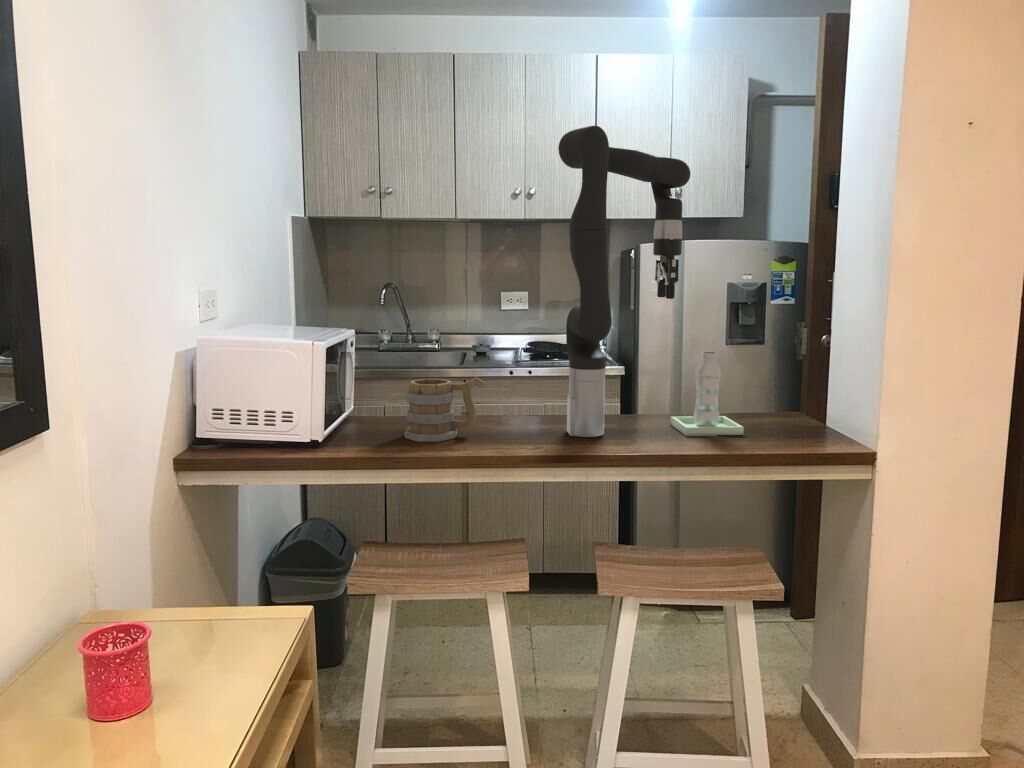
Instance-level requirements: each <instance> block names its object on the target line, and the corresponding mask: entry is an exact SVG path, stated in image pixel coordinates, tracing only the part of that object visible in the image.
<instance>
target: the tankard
mask: <svg viewBox="0 0 1024 768" xmlns="http://www.w3.org/2000/svg"><path fill="white" fill-rule="evenodd" d="M485 384H486V382H485V381H484V380H482V379H481V378H479V377H477V376H476V377H473V378H472V379H470V380H468V381H465V382H462V383H453V382H452V380H449V379H443V378H420V379H413V380H411V381H410V382H409V383H408V391H407V393H406V402H407V403H408V404H409V405H408V406H409V409H408V411H407V412H406V422H408V423H409V426H408V427H407V428H406V429H405V431H404V438H405V439H407V440H411V441H414V442H417V443H439V442H445V441H450V440H454V439H456V436H457V435H458V430H463V429H469V428H470V429H471V428H472V426H473V424H474V422H475V420H476V419H477V408H476V405H475V402H474V401H473V396H472V388H473V387H476V386H477V387H479V388H481V389H483V388H484V387H485ZM455 391H462V396H463V397H462V398H463V402H464V405H465V408H466V409H467V417H466V419H464V420H459V419H458V420H457V419H454V418H455V416H456V415H455V409H454V408H452V406H453V405H452V403H453V401H454V400H455V393H454V392H455Z"/></svg>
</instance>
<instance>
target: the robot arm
mask: <svg viewBox="0 0 1024 768" xmlns="http://www.w3.org/2000/svg"><path fill="white" fill-rule="evenodd" d="M558 155H559V158H560V161H561V162H563V164H564V165H566V166H567V167H569V168H571V169H574V170H575V169H578V170H580V169H581V187H580V192H579V195H578V199H577V202H576V203H575V206H574V208H573V211H572V214H571V216H570V219H569V220H570V221H569V226H568V227H569V228H568V230H569V232H568V233H569V251H570V256H571V257H570V258H571V260H572V263H573V264H572V265H573V266H574V269H575V273H576V275H577V279H578V283H579V295H580V296H579V297H580V298H579V299H580V300H579V301H580V302H579V304H576V305H574V306H573V307H572V308H571V310H569V313H568V315H567V317H566V325H565V326H566V328H565V334H566V335H565V338H566V343H565V344H566V354H567V358H568V362H569V363H568V370H569V371H568V395H567V397H566V403H567V404H566V432H567V433H568V436H570V437H580V438H597V437H600V436H603V435H605V414H606V413H605V410H606V408H605V404H606V371H607V369H606V368H607V366H606V365H607V360H606V356H605V355H604V353H603V351H602V348H601V342H602V341H603V340H605V339H606V338H607V336H609V334H610V331H611V328H612V323H613V322H612V311H611V301H610V295H609V294H610V293H609V284H608V283H609V281H608V267H609V265H608V223H607V222H608V221H607V199H608V198H607V193H608V192H607V190H608V189H607V187H608V176H609V175H608V173H611V174H616V175H620V176H623V177H627V178H630V179H634V180H637V181H640V182H643V183H650V184H651V189H652V190H651V191H652V193H653V199H654V203H655V221H654V227H653V248H652V250H653V252H652V253H653V256H659V257H660V258H659V259H655V275H654V281H655V282H656V284H657V293H656V294H657V295H656V296H657V298H665V299H666V300H668V299H669V300H674V299H675V293H676V292H675V290H676V285H677V283H678V282H679V266H680V265H679V264H680V263H679V262H680V260H679V259H675V258H676V257H677V256H681V255H682V252H683V251H682V250H683V249H682V248H683V222H682V221H683V201H682V200H681V199H680V198H678V197H674V196H673V193H672V190H671V189H677V188H678V189H679V188H682V187H684V186H685V185H687V183H689V181H690V179H691V169H690V167H689V165H688V164H687V163H686V162H685V161H683V160H681V159H679V158H673V157H668V156H667V157H666V156H658V155H657V156H656V155H654V154H651V153H648V152H646V151H642V150H640V149H633V148H624V147H616V146H610V143H609V138H608V135H607V133H606V131H605V130H604V129H603V128H602V127H601V126H599V125H589V126H584V127H583V126H582V127H580V128H576V129H572V130H569V131H568V132H566V133H565V134H564V135H562V137H561V138H560V140H559V143H558ZM675 256H676V257H675Z"/></svg>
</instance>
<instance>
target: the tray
mask: <svg viewBox="0 0 1024 768" xmlns="http://www.w3.org/2000/svg"><path fill="white" fill-rule="evenodd" d="M693 416H694V415H693ZM693 416H670V426H672V427H673V428H674V429H676V430H677V431H679V432H680V433H681V434H682V435H684V436H685V437H718V436H717V435H743V436H744V432H745V431H744V430H745V426H742V425H741V424H740V423H738V422H735V421H734V420H732V419H730V418H728V417H727V416H725V415H719V423H718V425H717V426H716V427H698V426H696V425H695V423H694V420H693Z"/></svg>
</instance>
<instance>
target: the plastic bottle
mask: <svg viewBox="0 0 1024 768" xmlns="http://www.w3.org/2000/svg"><path fill="white" fill-rule="evenodd" d="M717 353H718V352H715V351H702V352H701V358H700V359H701V362H700V363H699V365H698V366H697V367H696V368H695V371H694V376H695V387H696V398H695V399H696V400H695V407H694V412H693V420H694V423H695V425H696V426H698V427H716V426H717V425H718V423H719V416H720V412H719V402H718V401H719V400H718V399H719V397H718V396H719V387H720V382H721V377H722V371H721V369H720V367H719V365H718V363H717V362H716V361H717V360H718V359H717Z"/></svg>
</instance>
